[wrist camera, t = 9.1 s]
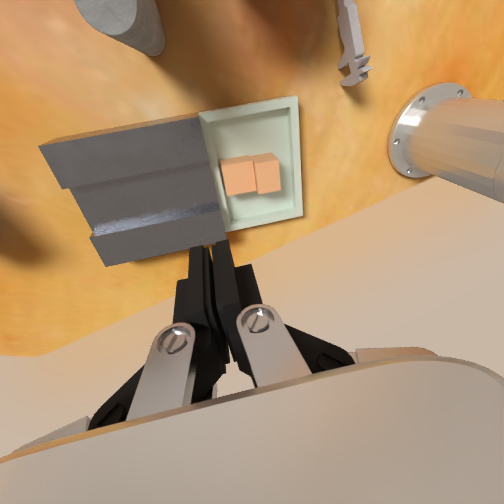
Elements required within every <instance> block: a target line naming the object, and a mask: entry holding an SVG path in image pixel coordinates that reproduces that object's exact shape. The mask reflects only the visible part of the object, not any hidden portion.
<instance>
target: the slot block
mask: <svg viewBox="0 0 504 504" xmlns="http://www.w3.org/2000/svg"><path fill="white" fill-rule="evenodd" d="M38 147H39V149H40V150H41V152H42V154H43V156H44V158H45V159H46V161H47V163H48V165H49V167H50V168H51V170H52V172H53V174H54V175H55V177H56V179H57V181H58V183H59V184H60V186H61V188H62V189H66V188H69V189H70V191H71V193H72V195H73V196H74V198H75V200H76V202H77V204H78V206H79V207H80V209H81V211H82V213H83V215H84V217H85V218H86V220H87V222H88V224H89V226H90V228H91V229H92V231H93V233H92V234H91V236H90V237H89V238H90V240H91V242H92V243H93V245H94V247H95V249H96V250H97V252H98V254H99V256H100V258H101V259H102V261H103V263H104V265H105V267H108V266H113V265H117V264H122V263H127V262H131V261H136V260H140V259H145V258H150V257H154V256H159V255H163V254H168V253H173V252H177V251H182V250H186V249H190V247H195V246H199V245H203V246H205V245H210V244H214V243H216V242H218V241H222V240H227V237H226V232H225V228H224V223H223V219H222V214H221V210H220V206H219V201H218V197H217V193H216V188H215V184H214V180H213V175H212V171H211V166H210V162H209V158H208V153H207V149H206V145H205V140H204V136H203V131H202V127H201V123H200V118H199V114H198V112H197V113H192V114H186V115H181V116H175V117H170V118H165V119H159V120H154V121H148V122H143V123H137V124H132V125H126V126H121V127H115V128H110V129H104V130H99V131H93V132H88V133H83V134H77V135H72V136H66V137H61V138H56V139H54V140H51V141H49V142H47V143H44V144H42V145H40V146H38Z"/></svg>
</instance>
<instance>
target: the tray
mask: <svg viewBox="0 0 504 504" xmlns="http://www.w3.org/2000/svg"><path fill="white" fill-rule="evenodd" d="M198 114H199V118H200V123H201V127H202V131H203V136H204V140H205V145H206V149H207V153H208V158H209V162H210V166H211V171H212V175H213V180H214V184H215V188H216V193H217V197H218V201H219V206H220V210H221V214H222V219H223V223H224V228H225V232H229V231H234V230H239V229H243V228H248V227H253V226H257V225H262V224H267V223H271V222H276V221H281V220H285V219H290V218H294V217H299V216H303V205H302V182H301V159H300V136H299V112H298V96H295V95H290V96H285V97H279V98H274V99H268V100H263V101H257V102H252V103H246V104H241V105H236V106H230V107H225V108H219V109H214V110H208V111H203V112H198ZM269 152H271V153H273V154H274V155H275V156H276V157H277V158H278V159H279V170H280V184H281V190H279V191H274V192H269V193H264V194H258V192H257V191H252V192H247V193H242V194H236V195H231V196H227V194H226V190H225V186H224V180H223V175H222V170H221V165H220V160H223V159H228V158H234V157H239V156H245V155H249V156H253V155H258V154H264V153H269Z"/></svg>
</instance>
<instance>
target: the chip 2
mask: <svg viewBox="0 0 504 504" xmlns="http://www.w3.org/2000/svg"><path fill="white" fill-rule="evenodd" d="M250 157H251V158H252V160H253V166H254V174H255V182H256V190H257V192H258V194H264V193H269V192H274V191H279V190H281V184H280V170H279V159H278V158H277V157H276V156H275V155H274V154H273V153H271V152H269V153H264V154H258V155H253V156H250Z"/></svg>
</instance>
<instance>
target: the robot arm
mask: <svg viewBox="0 0 504 504" xmlns="http://www.w3.org/2000/svg"><path fill="white" fill-rule="evenodd" d="M388 155H389V160H390V162H391V164H392V166H393V167H394V168H395V170H397V171H398V172H399V173H401V174H403V175H405V176H408V177H412V178H421V177H426V176H429V175H431V174H433V175H435V176H438V177H440V178H442V179H445V180H448V181H450V182H452V183H455V184H457V185H460V186H462V187H465V188H467V189H470V190H472V191H475V192H477V193H480V194H482V195H485V196H487V197H489V198H492V199H494V200H497V201H500V202H502V203H504V100H491V99H477V98H473V97H472V95H471V93H470V92H469V91H468V90H467V89H466V88H465V87H463V86H462V85H460V84H456V83H439V84H434V85H432V86H429V87H427V88H425V89H423V90H422V91H420V92H419V93H417V94H416V95H415V96H414V97H413V98H411V99H410V100H409V101H408V103H407V104H406V105H405V106H404V107H403V108H402V110H401V111H400V113H399V114H398V116H397V118H396V120H395V122H394V124H393V126H392V129H391V132H390V135H389V140H388ZM212 258H213V261H212ZM212 258H211V255H210V251H209V248H208V247H206V248H204V247H203V245H199V246H195V247H190V252H189V271H188V278H187V279H182V280H178V281H177V287H176V296H175V306H174V315H173V324H171V325H169V326H167V327H165V328H164V329H163V330H161V331H160V332H159V333H158V335H157V336H156V337H155V339H154V341H153V343H152V346H151V349H150V352H149V355H148V357H147V360H146V363H145V365H144V366H143V367H142V368H140V370H138V371H137V372H136V373H135V374H134V375H133V376H132V377H131V378H130V379H129V380H128V381H127V382H126V383H125V384H124V385H123V386H122V387H121V388H120V389H119V390H118V391H117V392H116V393H115V394H113V396H111V398H109V399H108V400H107V401H106V402H105V403H104V404H103V405H102V406H101V407H100V408H99V409H98V411H97V412H96V413H95V414H94V416H93V417H92V418H89V417H88V416H86V417H84V418H81V419H79V420H77V421H75V422H73V423H71V424H68V425H67V426H64V427H62V428H60V429H58V430H56V431H54V432H51V433H49V434H47V435H45V436H43V437H41V438H38V439H36V440H34V441H32V442H30V443H28V444H25V445H23V446H22V447H20V448H18V449H17V450H15V451H13V452H12V453H11V454H9V455H7V456H4V457H2V458H0V504H504V378H503V377H502V376H500V375H499V374H497V373H495V372H493V371H492V370H490V369H488V368H486V367H484V366H481V365H478V364H476V363H473V362H469V361H465V360H461V359H456V358H451V357H442V356H438V355H436V354H435V353H434V352H432V351H430V350H427V349H425V348H419V347H400V348H368V349H367V348H366V349H356V352H347V351H345V350H344V349H342V348H340V347H338V346H336V345H333V344H331V343H328V342H326V341H324V340H321V339H319V338H316V337H314V336H312V335H309V334H307V333H305V332H302V331H300V330H298V329H295V328H293V327H290V326H288V325H286V324H284V323H283V322H282V320H281V318H280V316H279V315H278V313H277V312H276V310H275V309H274V308H272V307H271V306H269V305H265V304H263V303H262V300H261V296H260V293H259V289H258V286H257V282H256V279H255V275H254V272H253V268H252V265H251V264H248V265H244V266H239V267H235V266H234V262H233V258H232V254H231V250H230V246H229V241H228V239H227V240H222V241H218V242H216V245H215V246H212ZM228 345H229V347H228ZM229 348H230V351H231V354H232V357H233V360H234V362H236V361H237V363H238V367H239V370H240V371H242V372H244V373H245V374H247V375H249V376H250V377H251V379H252V382H253V384H254V389H250V390H246V391H242V392H238V393H234V394H230V395H226V396H222V397H219V398H217V384H216V382H217V381H218V379H219V378H220V377H221V376H222V374H225V373H226V365H225V364H228V363H230V357H229Z"/></svg>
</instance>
